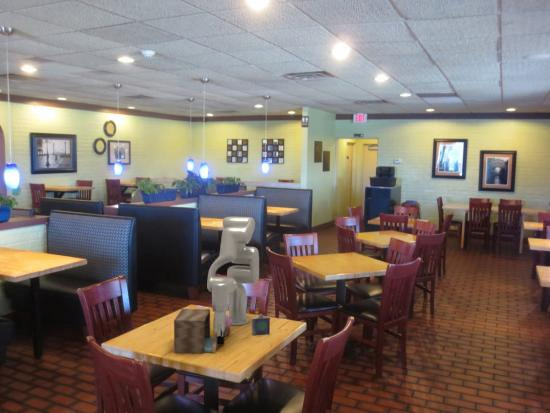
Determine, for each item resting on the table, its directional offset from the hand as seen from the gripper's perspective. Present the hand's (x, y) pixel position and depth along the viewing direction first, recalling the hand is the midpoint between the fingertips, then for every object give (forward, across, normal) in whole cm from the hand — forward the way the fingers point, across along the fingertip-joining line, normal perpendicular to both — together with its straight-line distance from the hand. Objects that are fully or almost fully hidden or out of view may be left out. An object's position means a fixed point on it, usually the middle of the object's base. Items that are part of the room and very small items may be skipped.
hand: (220, 344), depth 226 cm
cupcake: (+1, -15, 0) cm, 15 cm away
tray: (+1, 0, -11) cm, 11 cm away
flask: (+1, -17, +19) cm, 25 cm away
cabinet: (+1, 0, -13) cm, 13 cm away
